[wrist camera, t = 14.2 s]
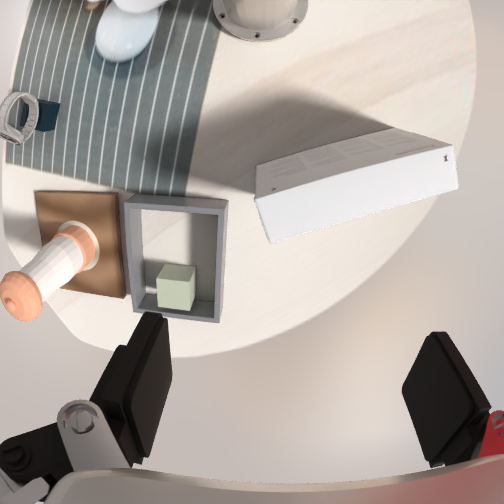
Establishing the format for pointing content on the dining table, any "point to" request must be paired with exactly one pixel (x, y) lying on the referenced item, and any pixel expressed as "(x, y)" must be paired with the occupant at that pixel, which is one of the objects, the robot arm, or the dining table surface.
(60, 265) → the pepper shaker
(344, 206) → the skincare box
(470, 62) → the dining table surface
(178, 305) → the sage block
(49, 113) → the watch
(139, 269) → the bin
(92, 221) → the serving board
